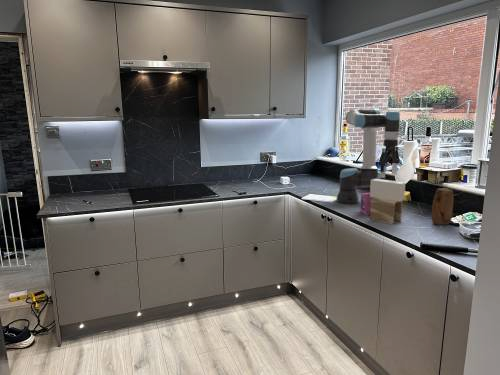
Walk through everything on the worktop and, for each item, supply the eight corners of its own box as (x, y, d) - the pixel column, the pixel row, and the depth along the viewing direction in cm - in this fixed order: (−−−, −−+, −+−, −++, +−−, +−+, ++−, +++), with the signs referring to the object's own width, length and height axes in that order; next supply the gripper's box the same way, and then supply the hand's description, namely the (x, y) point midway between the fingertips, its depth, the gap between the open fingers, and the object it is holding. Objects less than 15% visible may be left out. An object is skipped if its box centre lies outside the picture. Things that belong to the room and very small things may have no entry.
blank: (374, 194, 226) (375, 178, 224) (404, 199, 214) (405, 182, 212) (369, 196, 222) (370, 180, 220) (399, 201, 210) (400, 184, 208)
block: (440, 220, 219) (443, 187, 215) (452, 223, 212) (456, 189, 208) (428, 223, 214) (431, 188, 209) (440, 226, 207) (444, 191, 203)
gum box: (364, 215, 231) (365, 193, 228) (357, 212, 238) (358, 191, 235) (398, 212, 236) (399, 191, 233) (390, 209, 244) (392, 189, 241)
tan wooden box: (379, 215, 229) (380, 194, 226) (401, 220, 219) (402, 198, 216) (370, 219, 222) (371, 197, 219) (392, 224, 212) (394, 201, 209)
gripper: (386, 140, 200) (383, 179, 205) (407, 137, 216) (404, 174, 221) (373, 140, 205) (371, 177, 210) (395, 137, 222) (392, 172, 226)
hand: (388, 176), depth 215 cm, fingers open, 13 cm apart
